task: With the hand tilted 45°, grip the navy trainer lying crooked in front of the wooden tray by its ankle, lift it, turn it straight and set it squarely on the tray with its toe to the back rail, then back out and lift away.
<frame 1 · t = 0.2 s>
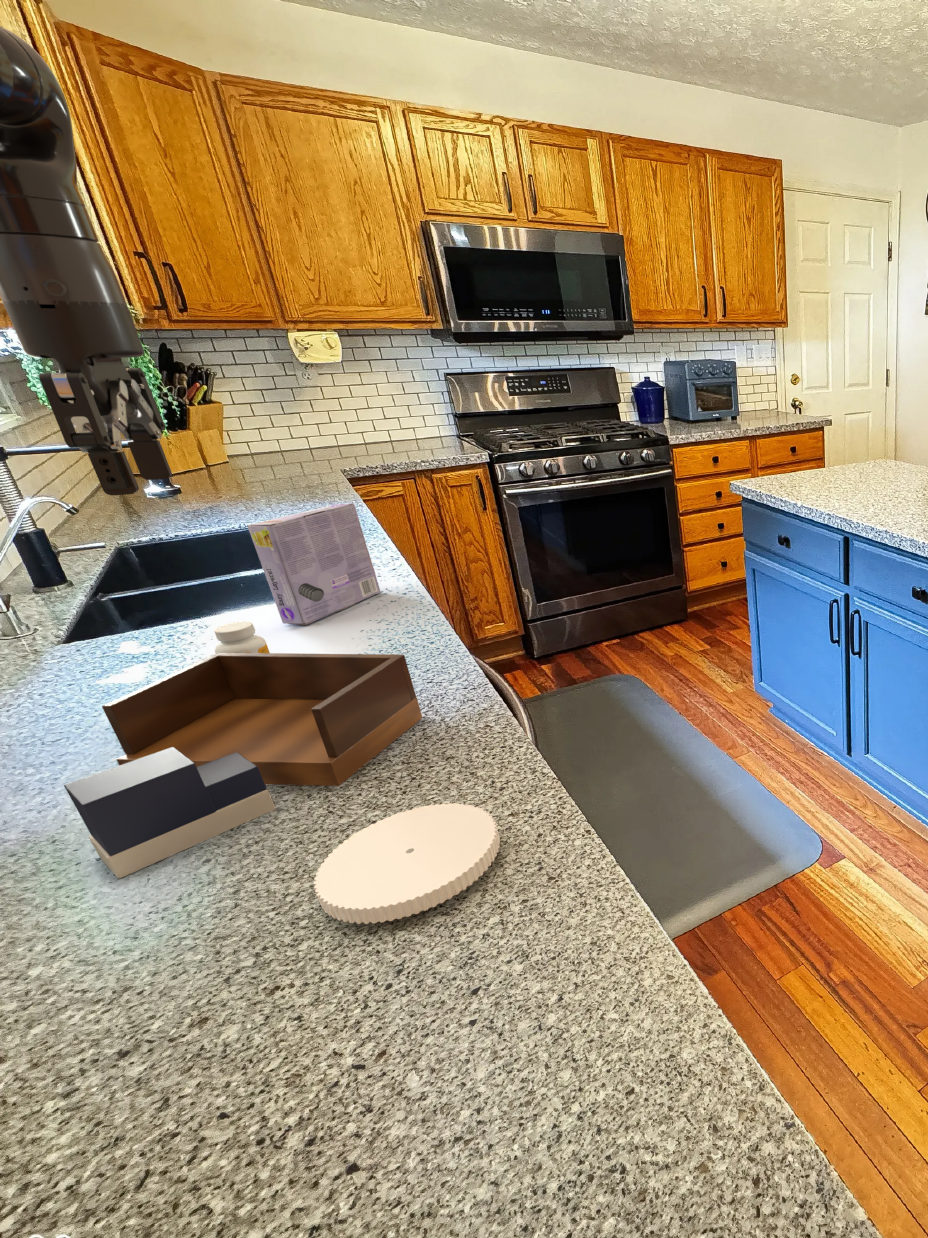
hand: (141, 486, 67), 32 cm above the countertop, tool pointing down, fingers open, 8 cm apart
supplement bottle: (258, 691, 97), on the countertop
plastic lid: (417, 874, 63), on the countertop
wooden tray: (286, 747, 83), on the countertop
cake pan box: (337, 608, 127), on the countertop
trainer: (192, 832, 69), on the countertop
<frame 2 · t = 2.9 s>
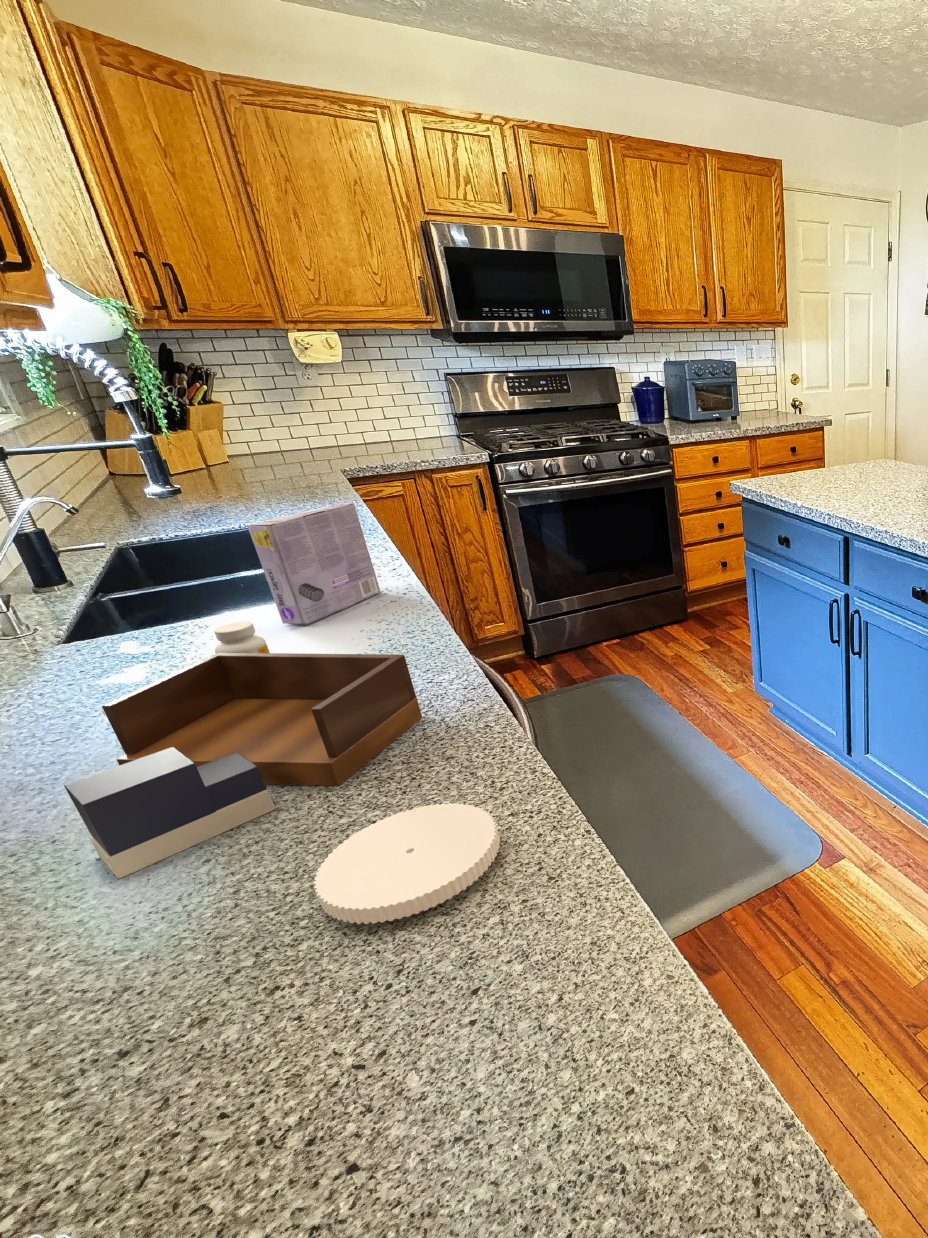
nothing on the countertop moved.
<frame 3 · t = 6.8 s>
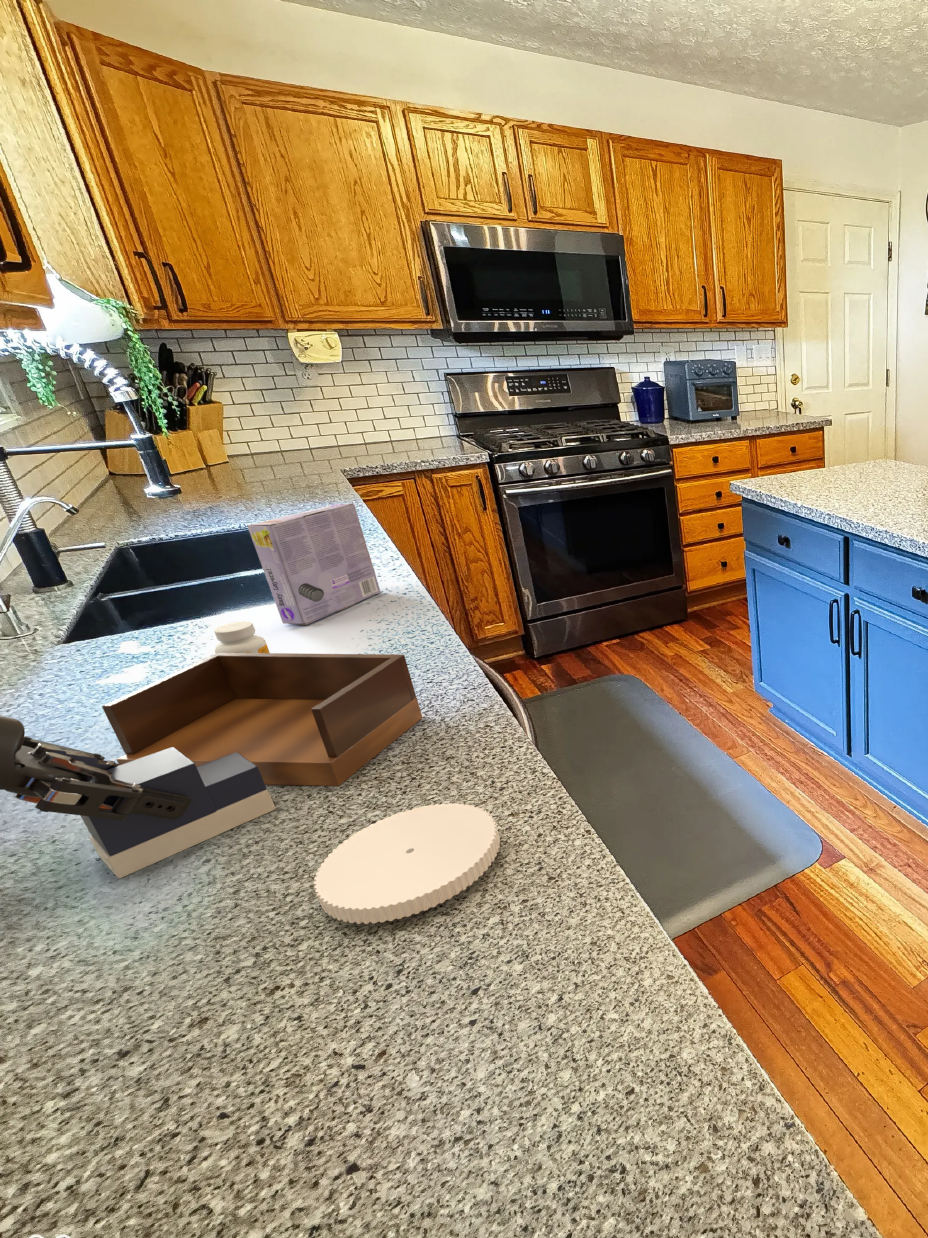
hand: (172, 797, 67), 4 cm above the countertop, tool tilted 45°, fingers closed on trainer, 5 cm apart
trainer: (192, 831, 69), on the countertop, touching gripper
everything else where it was.
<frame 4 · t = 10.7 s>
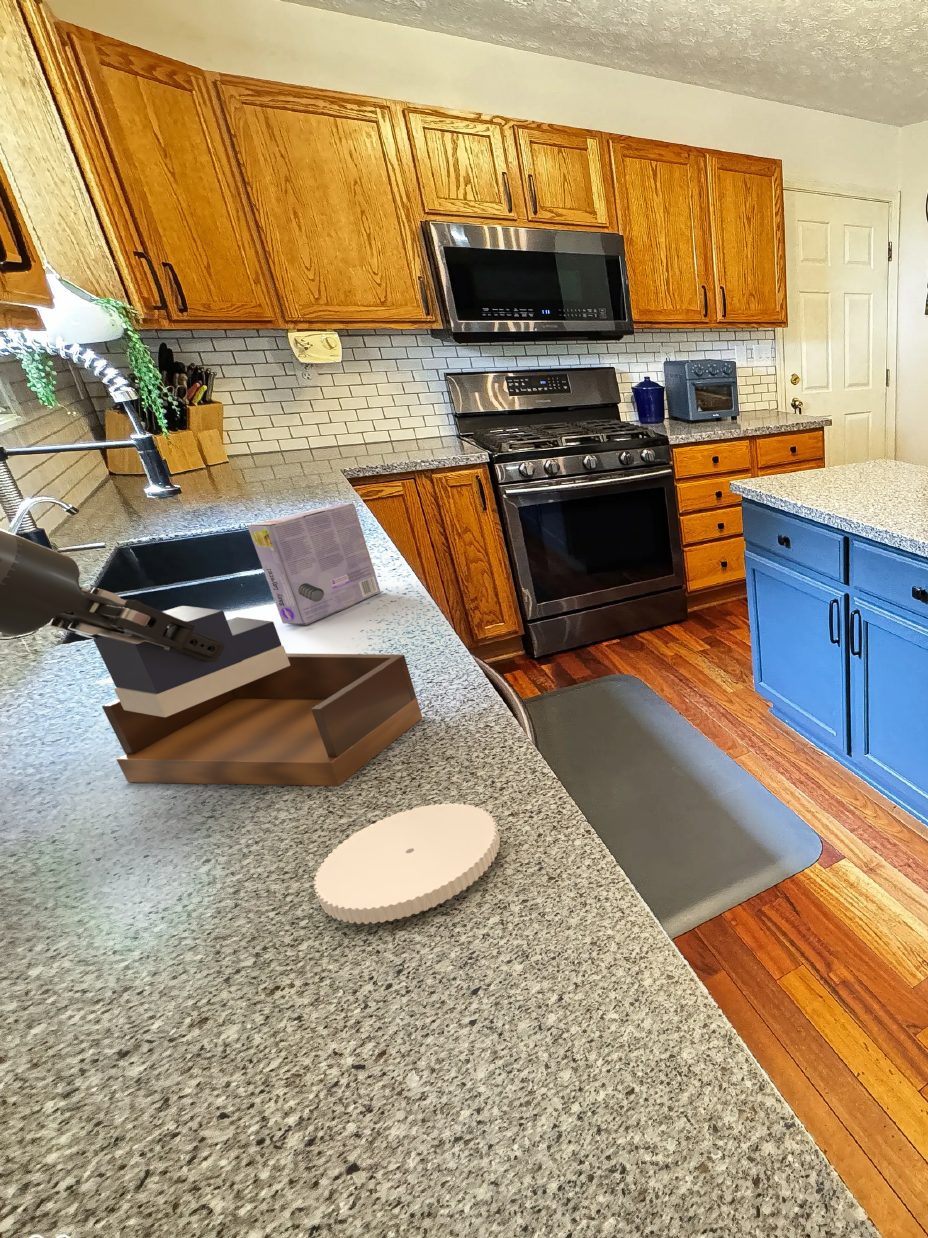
hand: (194, 649, 70), 16 cm above the countertop, tool tilted 45°, fingers closed on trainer, 5 cm apart
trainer: (212, 686, 71), point 12 cm above the countertop, touching gripper
everything else where it was.
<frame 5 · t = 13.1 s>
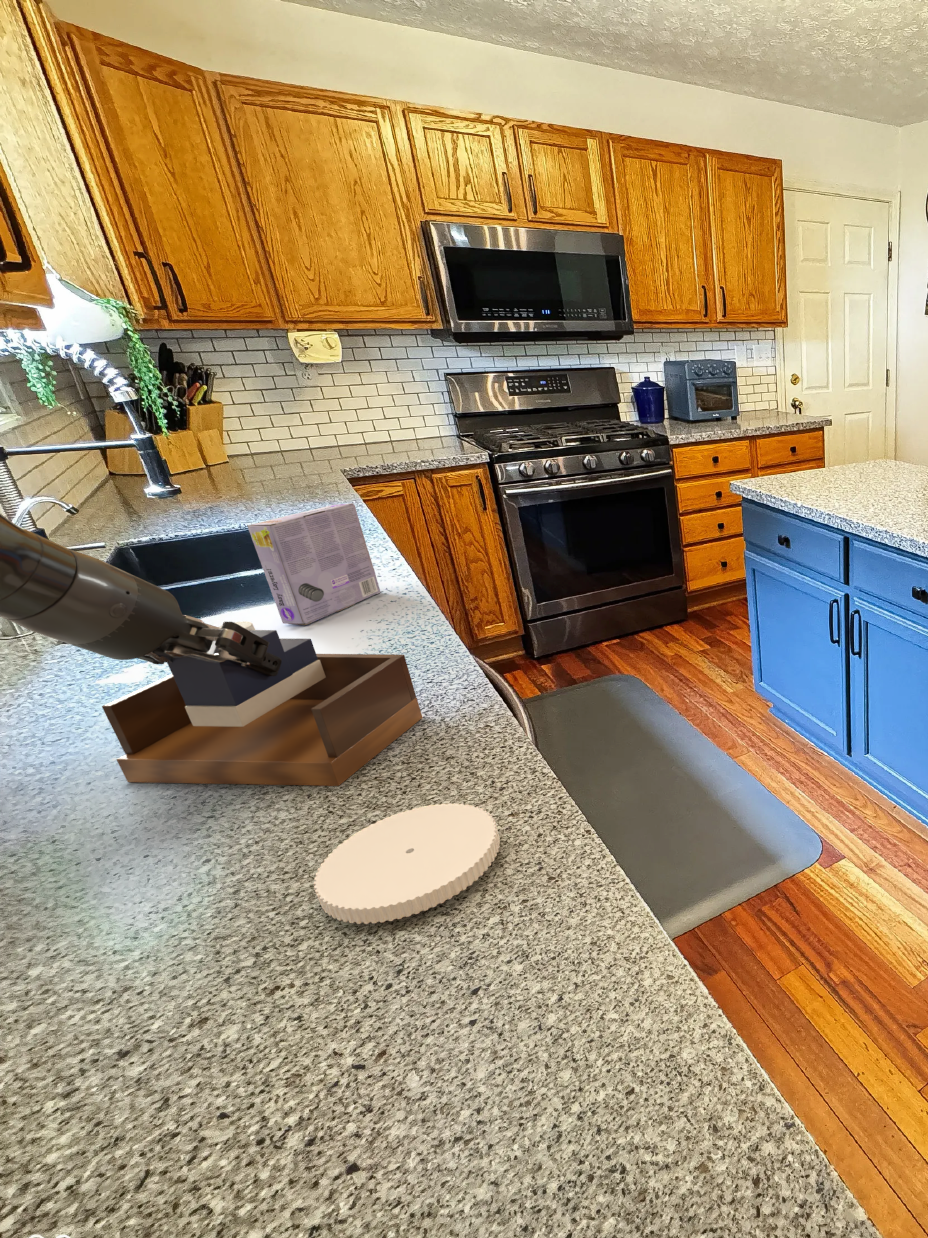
hand: (249, 667, 78), 11 cm above the countertop, tool tilted 45°, fingers closed on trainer, 5 cm apart
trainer: (264, 700, 80), point 7 cm above the countertop, touching gripper
everything else where it was.
when the fingers open (7 cm above the countertop, at t = 14.7 s): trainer stays where it is, resting on wooden tray.
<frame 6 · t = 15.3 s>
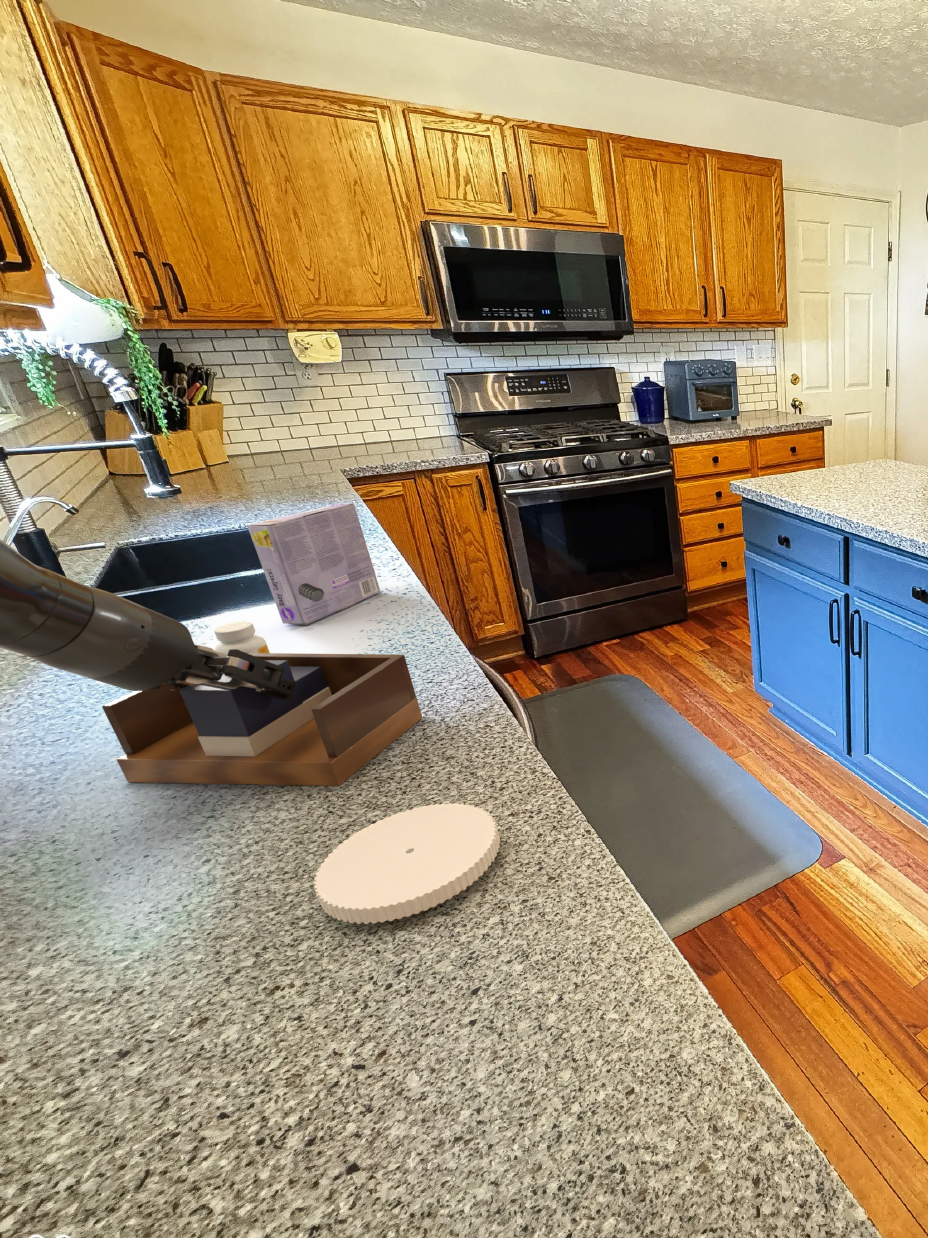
hand: (254, 691, 79), 8 cm above the countertop, tool tilted 45°, fingers open, 8 cm apart
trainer: (274, 728, 81), point 3 cm above the countertop, touching wooden tray
everything else where it was.
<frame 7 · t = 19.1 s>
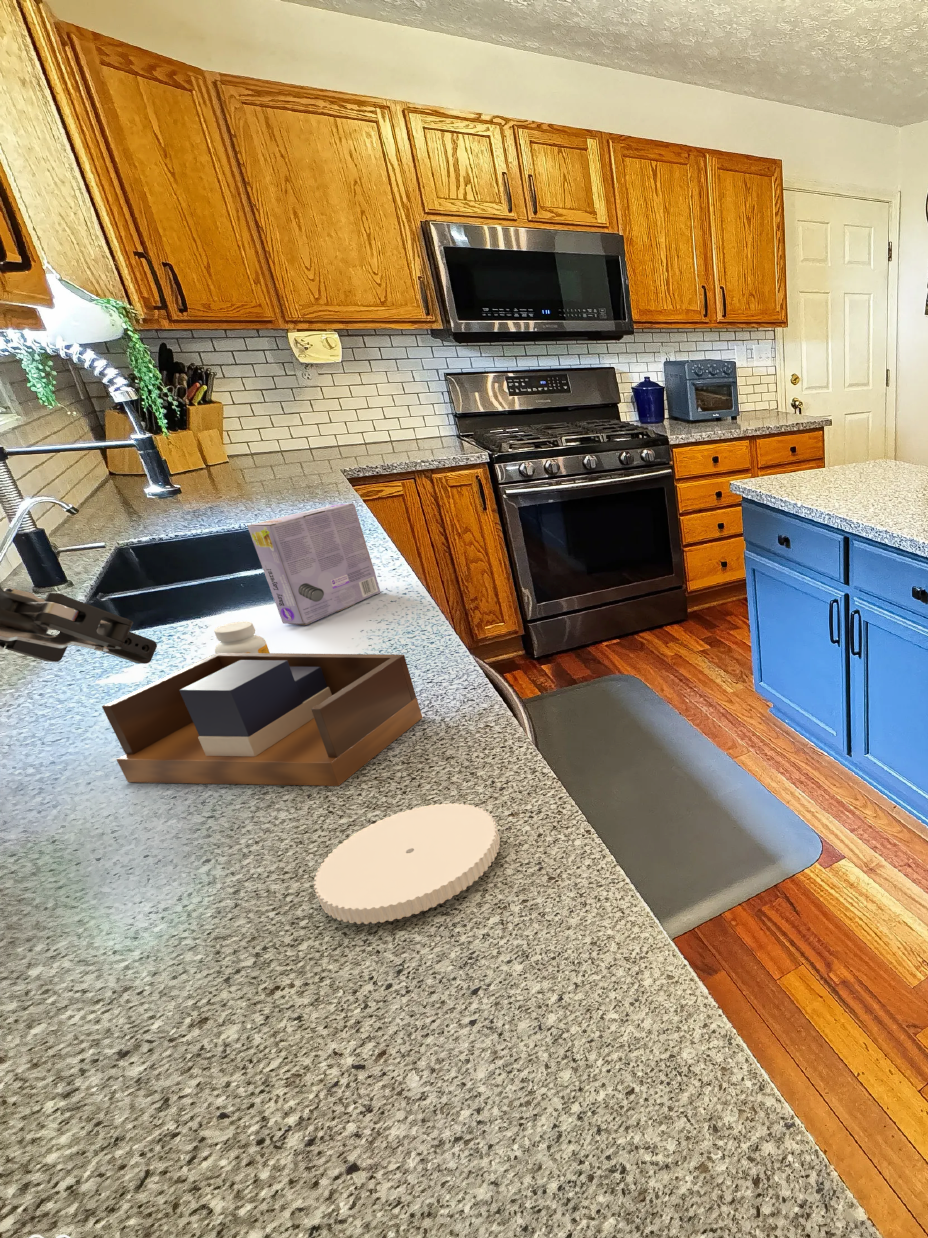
hand: (105, 652, 63), 18 cm above the countertop, tool tilted 45°, fingers open, 8 cm apart
nothing on the countertop moved.
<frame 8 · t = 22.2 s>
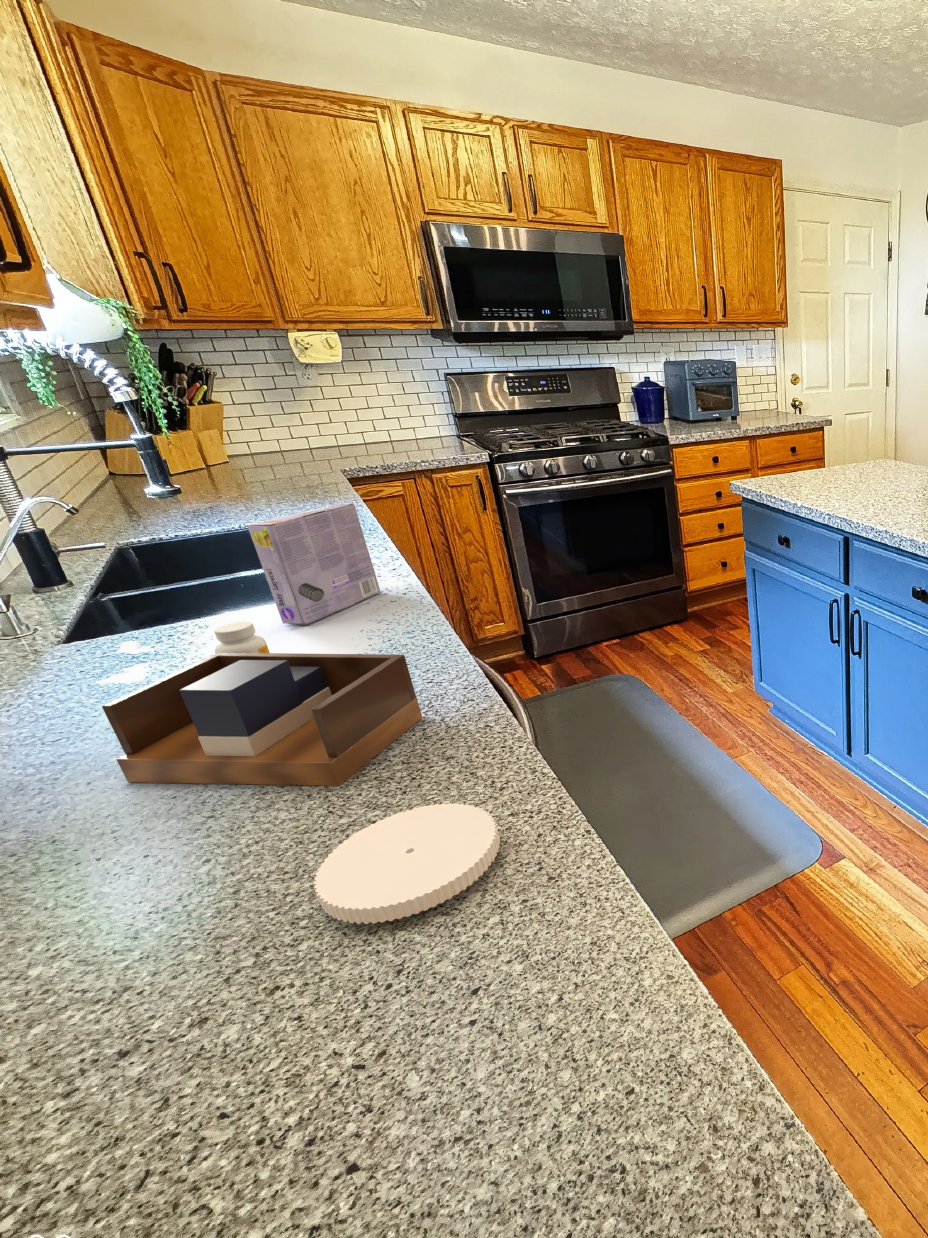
nothing on the countertop moved.
at the end: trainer inside the target area (0.1 cm from its centre), point 3.0 cm above the countertop; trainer tilted 0°; the gripper is holding nothing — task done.
